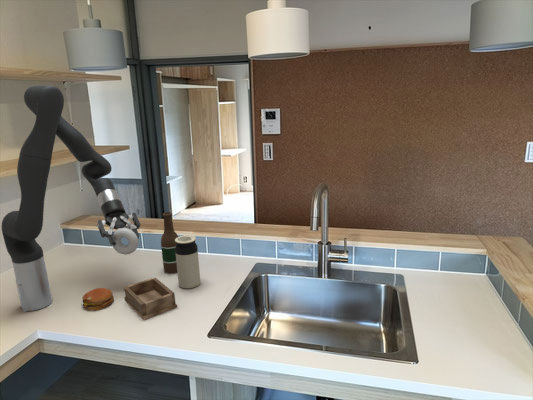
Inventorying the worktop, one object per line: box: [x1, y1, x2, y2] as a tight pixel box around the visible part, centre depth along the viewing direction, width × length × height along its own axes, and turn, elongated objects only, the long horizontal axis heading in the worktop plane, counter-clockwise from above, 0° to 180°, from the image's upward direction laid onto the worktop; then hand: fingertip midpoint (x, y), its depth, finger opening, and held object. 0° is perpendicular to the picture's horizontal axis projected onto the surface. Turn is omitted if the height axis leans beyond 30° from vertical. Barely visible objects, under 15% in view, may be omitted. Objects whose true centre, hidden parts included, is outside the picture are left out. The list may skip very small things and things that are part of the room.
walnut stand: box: [123, 277, 178, 321], centre depth 138 cm, size 12×17×5 cm
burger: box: [81, 287, 115, 312], centre depth 139 cm, size 10×9×5 cm
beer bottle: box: [160, 211, 179, 275], centre depth 161 cm, size 8×8×24 cm
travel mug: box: [175, 234, 201, 289], centre depth 149 cm, size 8×8×18 cm
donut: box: [111, 227, 139, 256], centre depth 146 cm, size 10×4×10 cm, turn 83°
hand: (126, 242), depth 145 cm, fingers closed on donut, 7 cm apart
